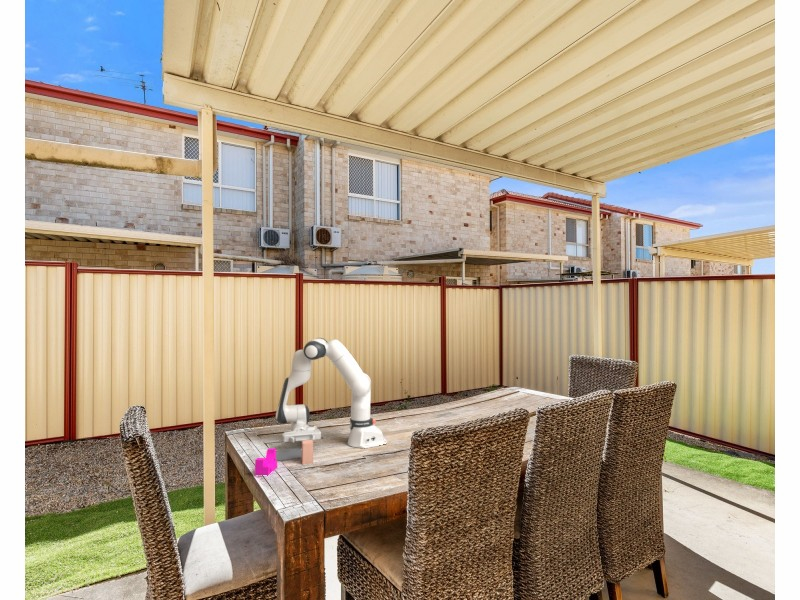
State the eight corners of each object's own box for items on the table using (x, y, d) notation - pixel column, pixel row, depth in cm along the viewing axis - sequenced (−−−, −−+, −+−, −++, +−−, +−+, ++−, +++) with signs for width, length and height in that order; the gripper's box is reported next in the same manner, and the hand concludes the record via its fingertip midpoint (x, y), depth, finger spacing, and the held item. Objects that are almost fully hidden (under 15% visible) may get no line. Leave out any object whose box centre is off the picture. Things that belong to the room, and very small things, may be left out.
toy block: (268, 477, 178) (268, 460, 178) (254, 476, 178) (255, 459, 178) (280, 464, 193) (281, 448, 193) (268, 463, 193) (268, 448, 193)
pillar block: (311, 459, 199) (311, 439, 199) (313, 463, 194) (313, 442, 194) (301, 460, 197) (301, 440, 197) (302, 464, 192) (303, 443, 192)
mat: (300, 449, 213) (300, 447, 213) (303, 458, 200) (303, 457, 200) (273, 452, 208) (273, 450, 208) (275, 462, 195) (275, 460, 195)
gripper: (281, 428, 216) (283, 436, 203) (318, 425, 223) (322, 432, 211) (280, 439, 216) (282, 448, 203) (318, 436, 223) (322, 444, 210)
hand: (303, 440), depth 207 cm, fingers open, 8 cm apart
